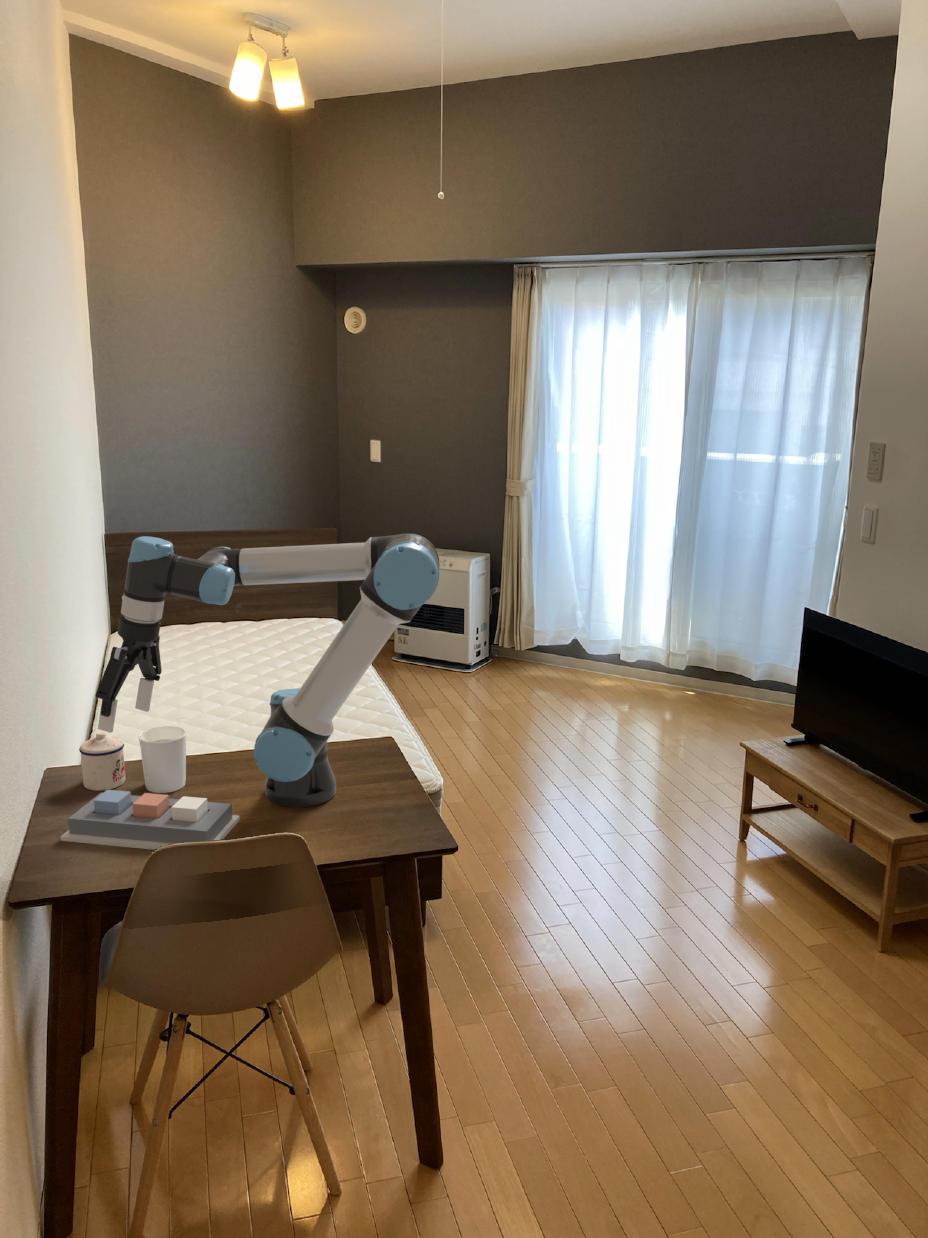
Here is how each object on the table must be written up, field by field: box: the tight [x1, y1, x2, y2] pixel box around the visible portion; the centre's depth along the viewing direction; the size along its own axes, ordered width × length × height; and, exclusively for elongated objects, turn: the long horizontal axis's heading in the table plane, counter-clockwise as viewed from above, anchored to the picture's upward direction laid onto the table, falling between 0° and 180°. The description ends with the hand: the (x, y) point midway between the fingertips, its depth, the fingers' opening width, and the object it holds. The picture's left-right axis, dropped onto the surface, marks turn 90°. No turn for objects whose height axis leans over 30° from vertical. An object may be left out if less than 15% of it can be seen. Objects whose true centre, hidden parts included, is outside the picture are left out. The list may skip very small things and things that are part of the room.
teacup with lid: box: [78, 731, 126, 792], centre depth 203 cm, size 12×9×12 cm
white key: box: [172, 795, 208, 822], centre depth 180 cm, size 5×5×3 cm
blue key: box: [94, 789, 132, 815], centre depth 183 cm, size 5×5×3 cm
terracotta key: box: [133, 792, 170, 819], centre depth 181 cm, size 5×5×3 cm
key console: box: [60, 792, 241, 851], centre depth 182 cm, size 30×15×4 cm, turn 81°
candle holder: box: [138, 725, 187, 794], centre depth 201 cm, size 10×10×12 cm
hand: (124, 719), depth 182 cm, fingers open, 13 cm apart
